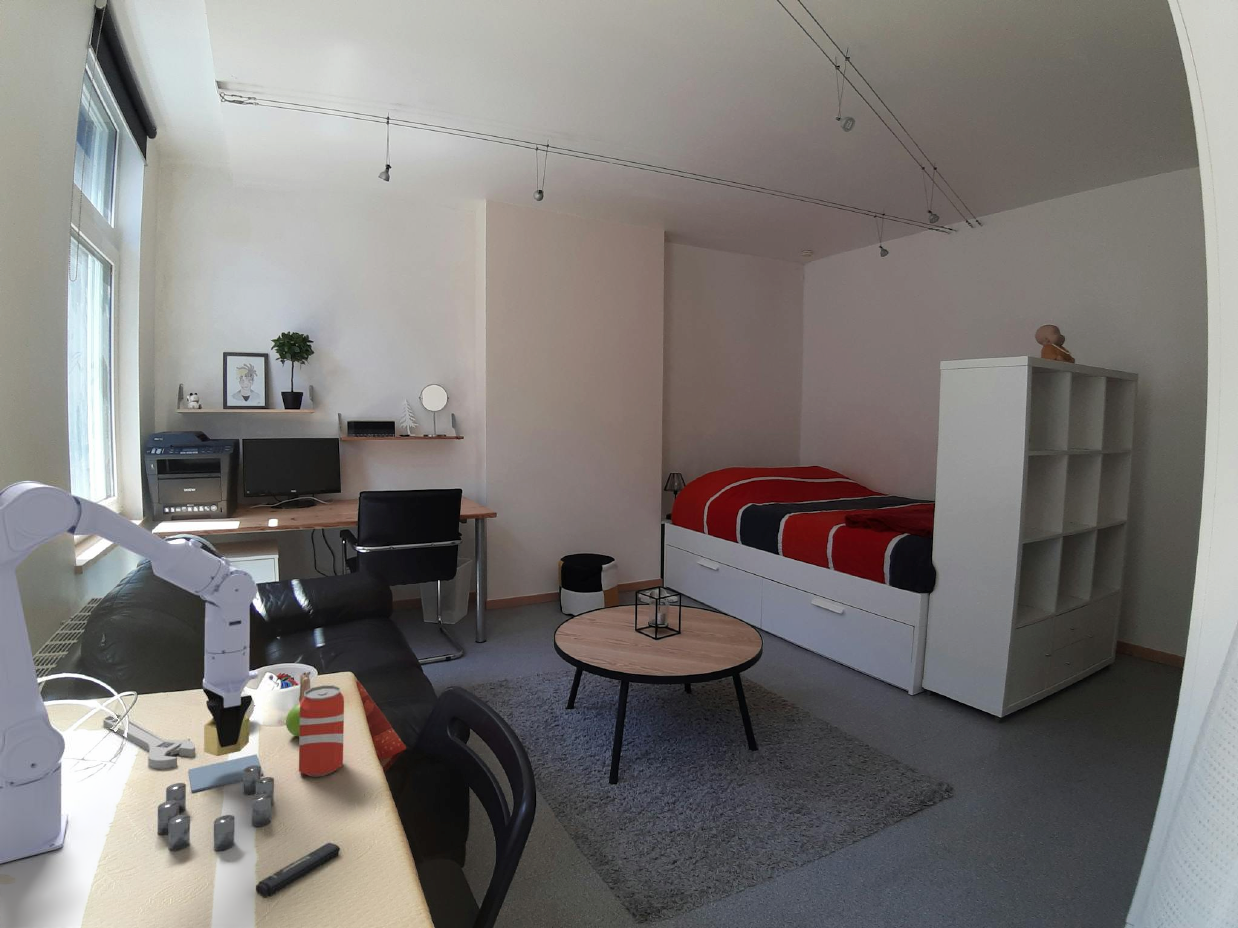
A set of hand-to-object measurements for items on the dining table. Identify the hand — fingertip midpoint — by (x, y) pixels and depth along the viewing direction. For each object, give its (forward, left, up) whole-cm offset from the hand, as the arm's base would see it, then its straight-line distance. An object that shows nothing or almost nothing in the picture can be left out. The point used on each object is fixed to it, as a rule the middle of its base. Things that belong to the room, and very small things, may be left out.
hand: (226, 737), depth 98 cm
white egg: (+3, +19, -6) cm, 20 cm away
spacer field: (-2, -14, -5) cm, 15 cm away
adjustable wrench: (-9, +19, -6) cm, 22 cm away
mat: (0, 0, -5) cm, 5 cm away
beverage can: (+12, -6, -6) cm, 15 cm away
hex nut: (0, 0, -1) cm, 1 cm away
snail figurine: (+12, +7, -6) cm, 15 cm away
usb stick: (+5, -30, -6) cm, 31 cm away
